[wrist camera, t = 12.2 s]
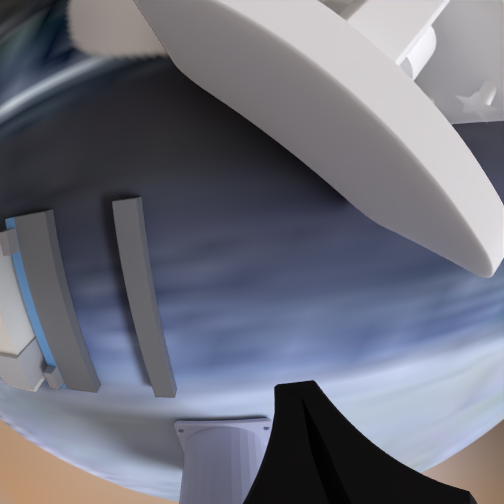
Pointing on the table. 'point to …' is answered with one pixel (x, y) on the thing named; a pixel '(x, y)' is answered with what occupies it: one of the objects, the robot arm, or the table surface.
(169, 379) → the board
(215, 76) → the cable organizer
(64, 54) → the table surface
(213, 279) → the table surface
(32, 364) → the tall beige pillar
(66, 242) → the table surface
